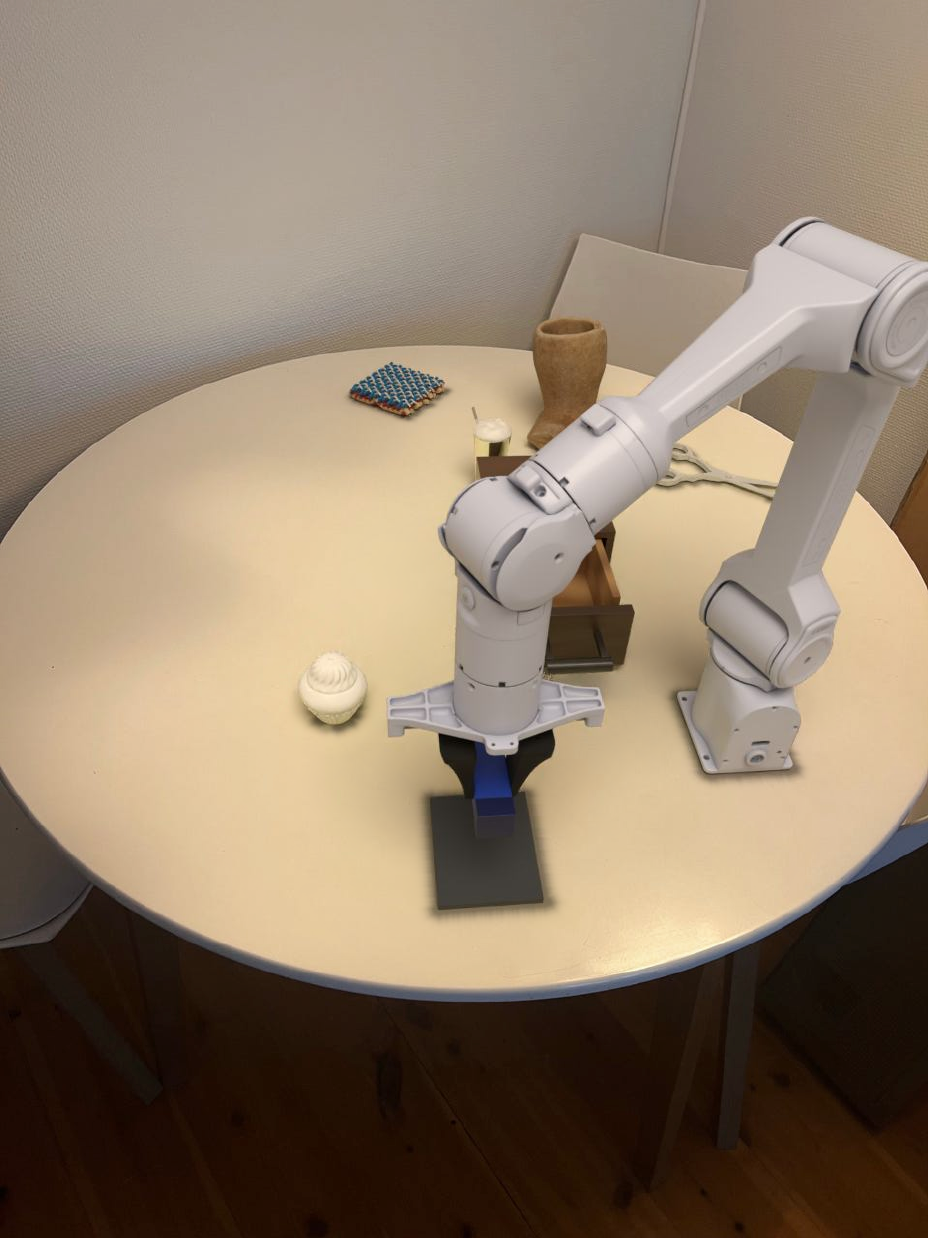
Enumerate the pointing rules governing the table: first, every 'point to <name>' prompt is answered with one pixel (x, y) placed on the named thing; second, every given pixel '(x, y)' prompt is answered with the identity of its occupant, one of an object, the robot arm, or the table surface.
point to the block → (492, 796)
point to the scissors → (710, 473)
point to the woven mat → (397, 389)
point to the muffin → (332, 687)
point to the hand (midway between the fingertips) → (488, 787)
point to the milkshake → (491, 437)
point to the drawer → (588, 621)
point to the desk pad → (482, 858)
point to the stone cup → (566, 372)
